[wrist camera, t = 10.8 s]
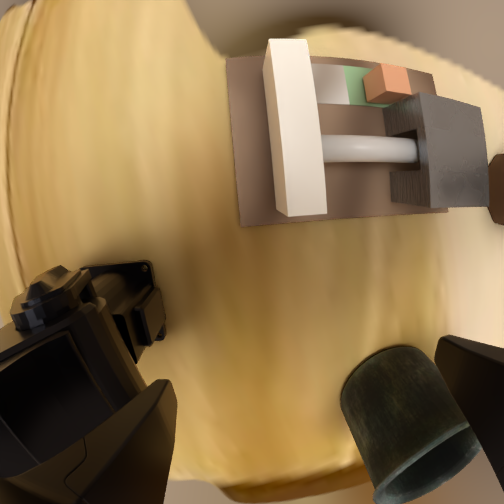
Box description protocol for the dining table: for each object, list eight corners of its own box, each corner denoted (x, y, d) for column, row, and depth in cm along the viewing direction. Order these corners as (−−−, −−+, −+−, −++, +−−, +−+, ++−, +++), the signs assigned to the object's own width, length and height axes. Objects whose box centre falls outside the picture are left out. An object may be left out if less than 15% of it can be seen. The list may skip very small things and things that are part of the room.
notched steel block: (390, 201, 19) (430, 208, 14) (382, 108, 17) (418, 91, 12) (447, 200, 19) (489, 206, 14) (440, 117, 17) (480, 107, 12)
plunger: (276, 209, 18) (287, 216, 14) (262, 69, 16) (269, 38, 12) (398, 202, 18) (435, 207, 14) (383, 76, 16) (414, 55, 12)
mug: (386, 320, 22) (467, 405, 10) (455, 368, 24) (513, 426, 13) (311, 407, 24) (343, 508, 12) (396, 433, 26) (434, 500, 15)
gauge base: (240, 225, 20) (240, 227, 19) (226, 63, 17) (225, 57, 16) (441, 210, 20) (448, 212, 19) (425, 77, 17) (432, 74, 16)
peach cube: (367, 102, 17) (386, 90, 14) (362, 77, 16) (380, 63, 13) (390, 104, 17) (411, 94, 14) (386, 80, 16) (405, 67, 13)
